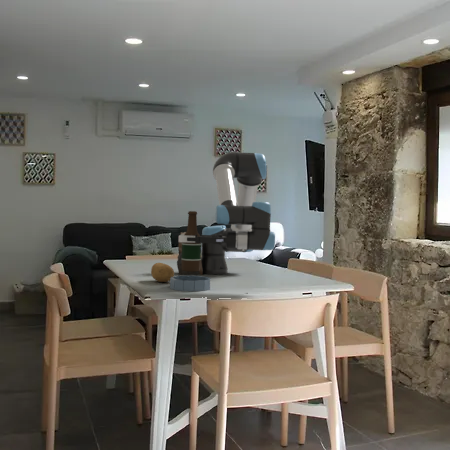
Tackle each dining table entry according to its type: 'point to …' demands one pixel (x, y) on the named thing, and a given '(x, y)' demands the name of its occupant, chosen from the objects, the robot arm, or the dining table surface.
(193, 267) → the beer bottle
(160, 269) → the potato
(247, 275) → the dining table surface
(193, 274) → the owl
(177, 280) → the bowl
